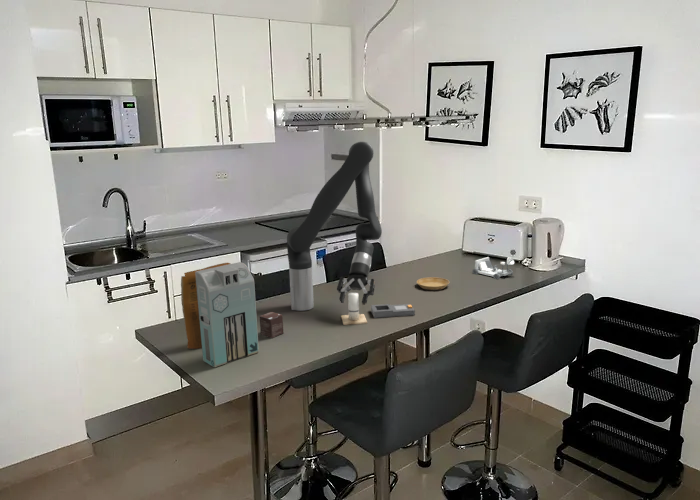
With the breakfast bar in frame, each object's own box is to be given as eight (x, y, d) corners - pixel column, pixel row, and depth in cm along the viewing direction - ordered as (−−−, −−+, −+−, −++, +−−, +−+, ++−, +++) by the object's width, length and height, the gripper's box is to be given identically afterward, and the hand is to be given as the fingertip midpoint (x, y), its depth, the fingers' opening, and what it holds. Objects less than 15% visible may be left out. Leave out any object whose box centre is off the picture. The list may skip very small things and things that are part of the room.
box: (272, 330, 207) (271, 311, 205) (284, 333, 203) (283, 314, 201) (260, 335, 202) (259, 315, 200) (271, 338, 198) (270, 319, 197)
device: (215, 368, 175) (207, 276, 169) (203, 361, 181) (194, 271, 174) (259, 353, 186) (253, 265, 179) (246, 346, 192) (240, 261, 185)
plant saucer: (439, 293, 245) (439, 288, 244) (410, 288, 254) (410, 283, 253) (455, 285, 256) (455, 280, 256) (426, 280, 265) (426, 275, 265)
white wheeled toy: (518, 256, 266) (504, 261, 259) (517, 276, 269) (503, 281, 261) (487, 250, 280) (472, 254, 273) (486, 269, 282) (472, 274, 275)
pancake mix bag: (240, 339, 198) (235, 263, 192) (188, 353, 187) (180, 273, 181) (232, 334, 203) (226, 259, 197) (181, 347, 192) (173, 269, 186)
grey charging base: (374, 317, 216) (374, 311, 216) (370, 311, 224) (370, 304, 224) (414, 315, 218) (414, 308, 218) (410, 308, 226) (410, 302, 225)
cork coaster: (343, 324, 210) (343, 323, 210) (341, 316, 218) (341, 315, 218) (367, 323, 211) (367, 321, 211) (363, 315, 219) (363, 313, 219)
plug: (349, 320, 212) (348, 295, 210) (348, 317, 216) (347, 292, 214) (360, 319, 213) (359, 294, 211) (358, 316, 217) (357, 291, 214)
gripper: (341, 260, 219) (332, 297, 211) (376, 262, 214) (368, 300, 206) (345, 270, 225) (337, 306, 217) (380, 272, 221) (372, 309, 213)
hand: (352, 303), depth 212 cm, fingers open, 8 cm apart
